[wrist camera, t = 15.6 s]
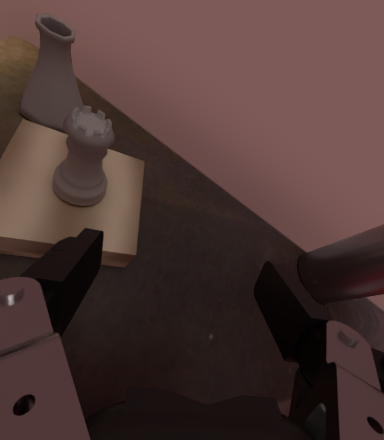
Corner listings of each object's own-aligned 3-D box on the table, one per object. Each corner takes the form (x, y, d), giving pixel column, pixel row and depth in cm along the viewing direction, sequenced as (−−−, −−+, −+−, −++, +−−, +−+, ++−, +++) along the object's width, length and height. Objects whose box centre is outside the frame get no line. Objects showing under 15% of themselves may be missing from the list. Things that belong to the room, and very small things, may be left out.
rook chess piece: (39, 184, 18) (32, 104, 12) (78, 161, 21) (89, 88, 15) (82, 217, 19) (96, 156, 13) (115, 190, 22) (138, 130, 16)
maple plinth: (134, 181, 28) (144, 161, 25) (124, 267, 22) (135, 255, 19) (26, 148, 23) (23, 119, 20) (-25, 250, 17) (-41, 230, 14)
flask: (73, 144, 26) (82, 65, 19) (5, 114, 24) (-16, 7, 16) (93, 113, 30) (107, 38, 23) (37, 84, 28) (32, -12, 20)
